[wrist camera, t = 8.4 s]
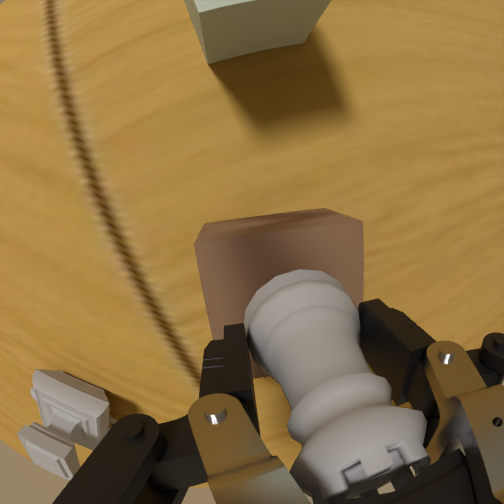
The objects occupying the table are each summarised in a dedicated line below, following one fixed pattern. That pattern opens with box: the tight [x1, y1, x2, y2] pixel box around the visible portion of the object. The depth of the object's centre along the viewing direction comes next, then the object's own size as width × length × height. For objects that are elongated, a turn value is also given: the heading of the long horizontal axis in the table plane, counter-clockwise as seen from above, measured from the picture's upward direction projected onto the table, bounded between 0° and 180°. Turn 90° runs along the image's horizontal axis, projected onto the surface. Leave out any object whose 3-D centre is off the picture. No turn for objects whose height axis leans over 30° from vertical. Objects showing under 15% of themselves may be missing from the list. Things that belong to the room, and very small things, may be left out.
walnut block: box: [194, 208, 364, 378], centre depth 14 cm, size 7×7×5 cm
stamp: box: [17, 369, 118, 480], centre depth 14 cm, size 9×7×8 cm
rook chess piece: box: [244, 269, 431, 504], centre depth 7 cm, size 4×4×8 cm
